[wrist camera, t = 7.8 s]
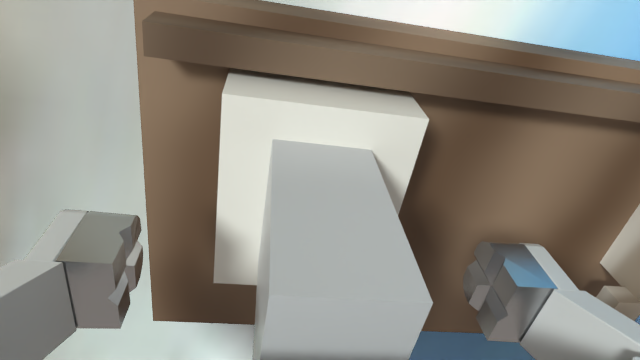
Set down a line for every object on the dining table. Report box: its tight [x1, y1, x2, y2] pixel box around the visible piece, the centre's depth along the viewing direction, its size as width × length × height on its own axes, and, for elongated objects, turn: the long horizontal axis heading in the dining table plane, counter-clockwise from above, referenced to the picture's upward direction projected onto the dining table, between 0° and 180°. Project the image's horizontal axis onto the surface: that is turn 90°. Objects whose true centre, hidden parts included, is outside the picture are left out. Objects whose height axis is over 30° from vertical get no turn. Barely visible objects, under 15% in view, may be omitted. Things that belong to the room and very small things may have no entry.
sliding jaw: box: [213, 68, 433, 360], centre depth 11 cm, size 5×9×7 cm, turn 171°
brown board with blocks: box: [134, 0, 640, 333], centre depth 15 cm, size 20×12×4 cm, turn 81°
